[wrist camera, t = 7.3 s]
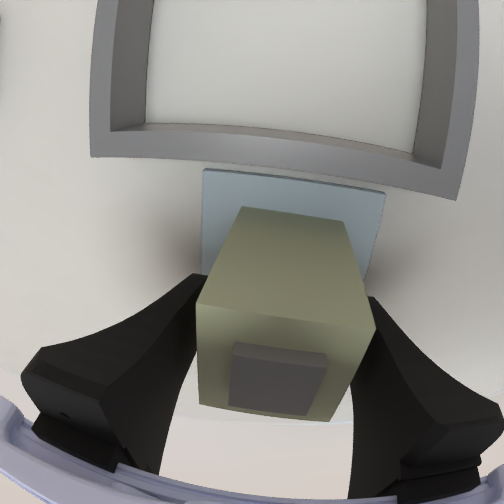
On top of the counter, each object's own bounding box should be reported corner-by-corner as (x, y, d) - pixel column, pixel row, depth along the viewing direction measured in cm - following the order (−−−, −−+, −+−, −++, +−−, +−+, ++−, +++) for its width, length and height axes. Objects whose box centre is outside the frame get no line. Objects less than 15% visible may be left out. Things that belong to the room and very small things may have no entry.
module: (343, 221, 13) (379, 342, 7) (322, 303, 15) (329, 433, 9) (241, 206, 14) (189, 315, 7) (234, 290, 16) (195, 415, 9)
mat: (384, 192, 13) (386, 194, 12) (345, 330, 17) (345, 334, 16) (205, 168, 13) (202, 170, 13) (203, 311, 17) (202, 315, 17)
